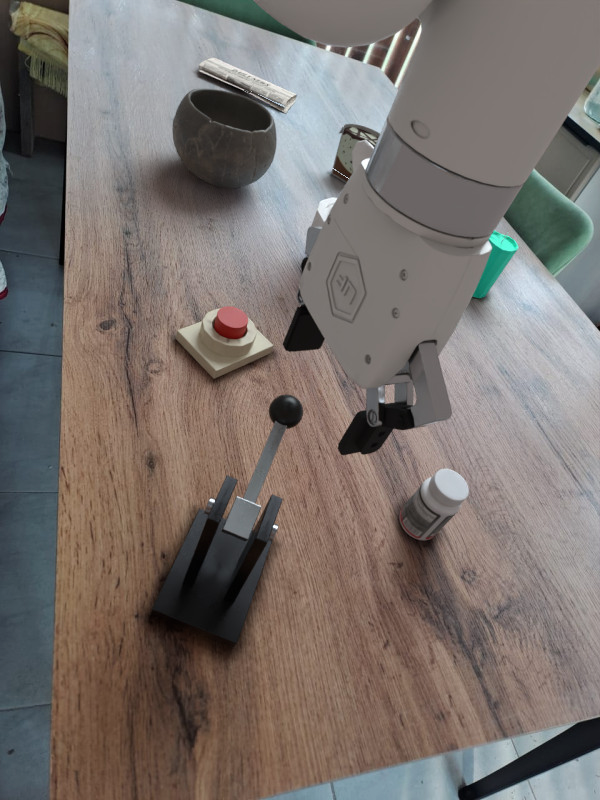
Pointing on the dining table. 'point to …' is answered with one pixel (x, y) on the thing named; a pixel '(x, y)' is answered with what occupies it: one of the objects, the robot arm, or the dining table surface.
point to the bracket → (216, 572)
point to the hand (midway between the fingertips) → (327, 395)
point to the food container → (351, 148)
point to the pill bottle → (433, 504)
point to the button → (230, 322)
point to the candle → (495, 262)
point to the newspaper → (248, 83)
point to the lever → (262, 467)
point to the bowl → (224, 137)
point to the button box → (222, 346)
